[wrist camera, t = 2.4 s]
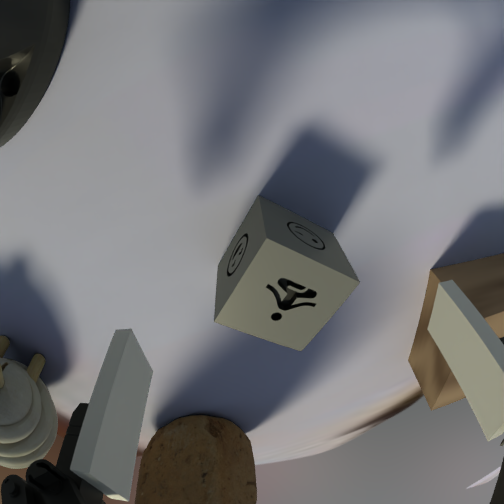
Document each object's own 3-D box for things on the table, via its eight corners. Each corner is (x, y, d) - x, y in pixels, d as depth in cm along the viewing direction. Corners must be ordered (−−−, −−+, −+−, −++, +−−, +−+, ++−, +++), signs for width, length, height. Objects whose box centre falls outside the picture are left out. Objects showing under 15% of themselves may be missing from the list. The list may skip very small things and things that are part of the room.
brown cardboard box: (429, 267, 21) (471, 322, 15) (517, 248, 20) (559, 288, 15) (407, 358, 26) (431, 410, 20) (487, 332, 25) (515, 374, 20)
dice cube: (332, 232, 19) (360, 282, 14) (288, 294, 21) (301, 351, 16) (258, 194, 17) (266, 238, 13) (218, 265, 19) (214, 321, 15)
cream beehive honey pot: (0, 388, 27) (-30, 459, 17) (-29, 285, 19) (-94, 376, 10) (75, 421, 29) (53, 501, 20) (69, 329, 22) (18, 449, 12)
